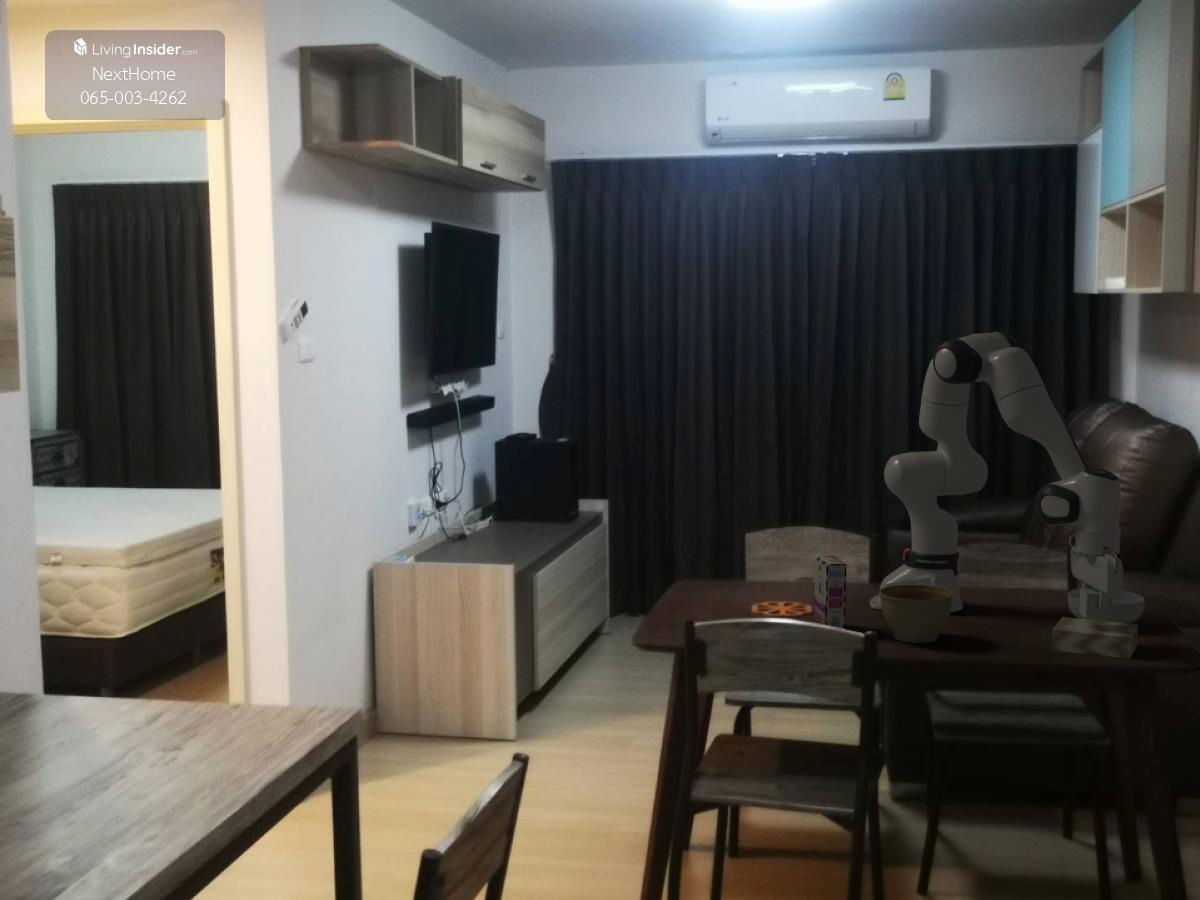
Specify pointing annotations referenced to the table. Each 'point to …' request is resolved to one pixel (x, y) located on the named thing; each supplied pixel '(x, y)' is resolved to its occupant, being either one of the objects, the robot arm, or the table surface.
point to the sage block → (1093, 605)
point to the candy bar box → (830, 591)
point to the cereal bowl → (1124, 606)
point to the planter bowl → (916, 611)
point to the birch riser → (1095, 637)
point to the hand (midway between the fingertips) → (1095, 606)
